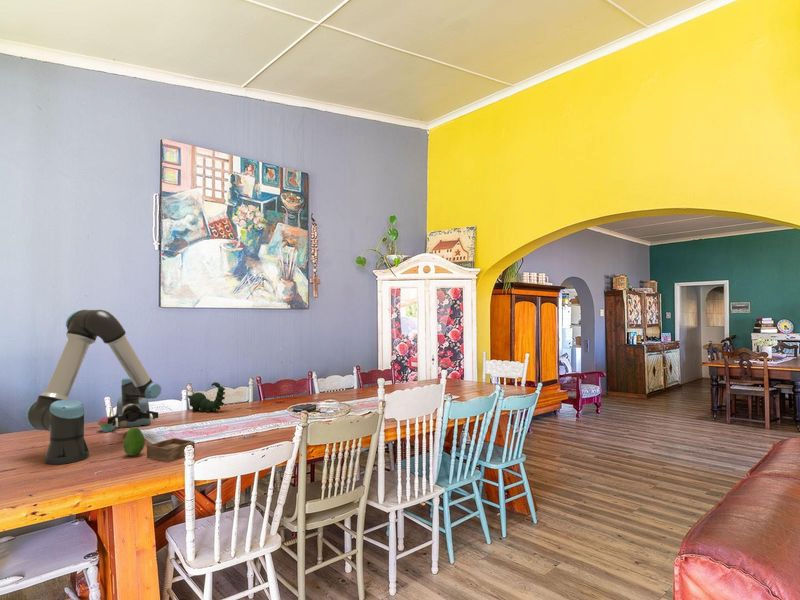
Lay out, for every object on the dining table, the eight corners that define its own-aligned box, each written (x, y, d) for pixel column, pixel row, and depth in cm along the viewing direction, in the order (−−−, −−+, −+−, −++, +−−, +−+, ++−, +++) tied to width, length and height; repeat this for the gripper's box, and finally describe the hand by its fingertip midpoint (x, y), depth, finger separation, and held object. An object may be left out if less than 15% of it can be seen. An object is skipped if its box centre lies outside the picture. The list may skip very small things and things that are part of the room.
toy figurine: (226, 413, 298) (191, 407, 304) (228, 382, 297) (193, 377, 304) (216, 417, 289) (180, 411, 295) (219, 384, 288) (183, 379, 295)
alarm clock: (116, 423, 268) (116, 393, 268) (150, 419, 276) (150, 390, 276) (115, 429, 254) (115, 398, 254) (150, 425, 261) (150, 395, 262)
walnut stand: (167, 461, 199) (167, 449, 199) (146, 457, 205) (146, 445, 205) (194, 453, 210) (194, 441, 210) (174, 449, 217) (174, 437, 217)
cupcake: (121, 428, 254) (121, 405, 255) (109, 433, 246) (109, 408, 246) (105, 428, 255) (105, 405, 255) (93, 432, 247) (93, 408, 247)
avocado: (124, 459, 203) (124, 429, 203) (122, 454, 209) (122, 426, 209) (146, 455, 207) (146, 427, 208) (143, 451, 214) (143, 423, 214)
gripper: (160, 416, 242) (166, 425, 224) (101, 424, 229) (101, 434, 211) (160, 401, 242) (165, 409, 224) (101, 408, 229) (101, 417, 211)
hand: (134, 421), depth 218 cm, fingers open, 13 cm apart
